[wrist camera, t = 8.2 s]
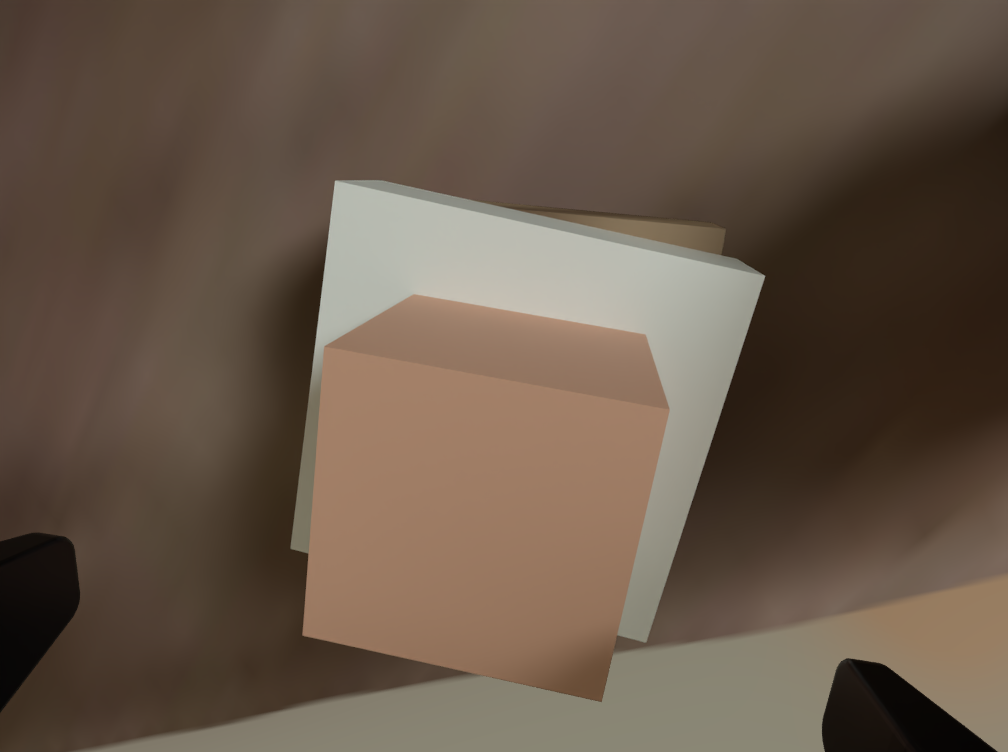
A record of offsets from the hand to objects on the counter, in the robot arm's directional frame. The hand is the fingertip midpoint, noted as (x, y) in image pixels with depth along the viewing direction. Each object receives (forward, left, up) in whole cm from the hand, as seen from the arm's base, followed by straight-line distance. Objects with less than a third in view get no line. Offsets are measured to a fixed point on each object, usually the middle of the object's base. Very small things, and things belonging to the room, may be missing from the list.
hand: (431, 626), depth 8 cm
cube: (0, 0, -8) cm, 8 cm away
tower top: (0, 0, -11) cm, 11 cm away
